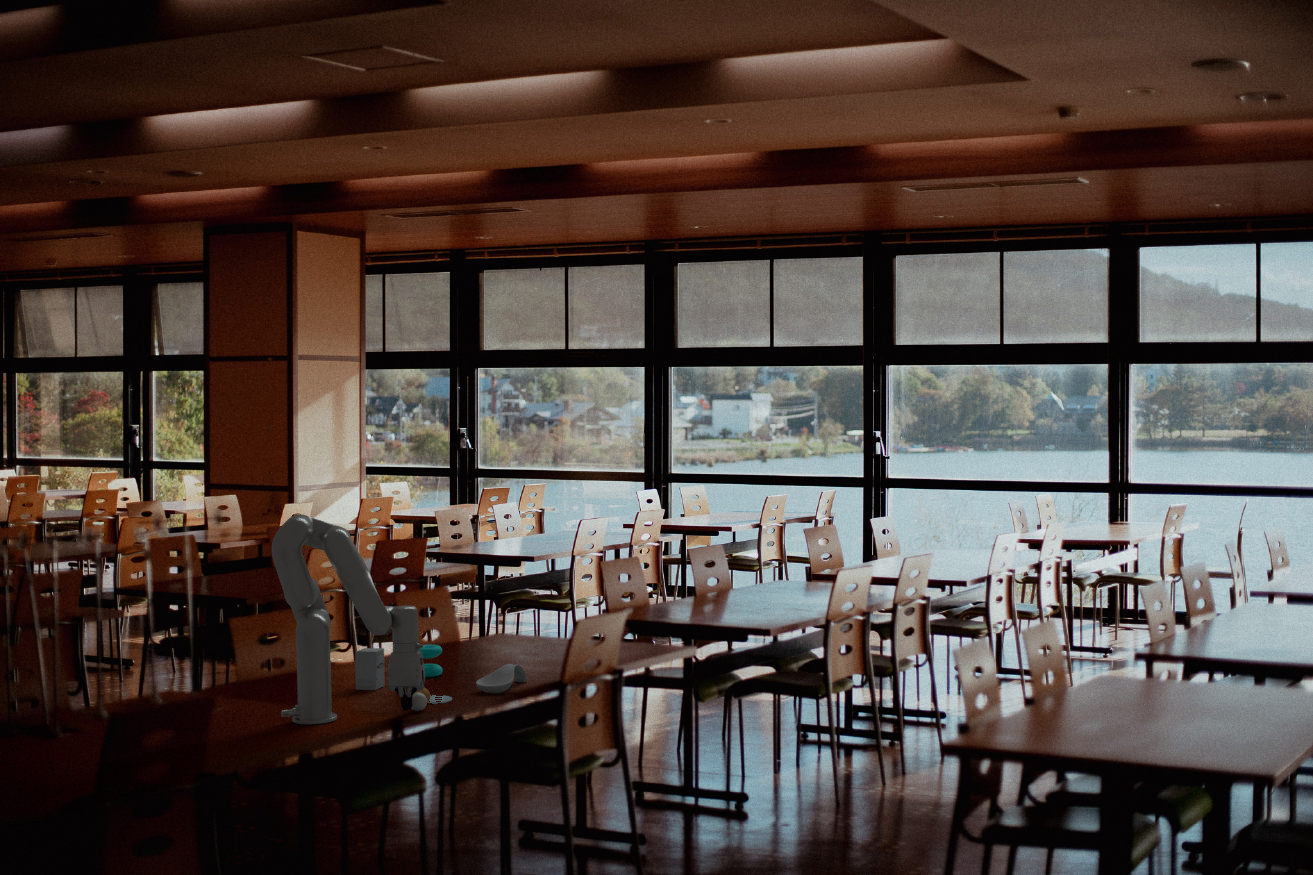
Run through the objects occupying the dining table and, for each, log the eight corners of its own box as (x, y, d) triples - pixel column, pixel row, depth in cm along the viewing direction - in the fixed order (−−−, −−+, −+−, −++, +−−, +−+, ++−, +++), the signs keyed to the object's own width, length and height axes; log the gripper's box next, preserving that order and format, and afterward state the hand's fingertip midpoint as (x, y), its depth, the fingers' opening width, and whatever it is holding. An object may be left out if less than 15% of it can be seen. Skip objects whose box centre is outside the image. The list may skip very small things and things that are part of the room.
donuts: (421, 643, 466) (447, 644, 463) (422, 672, 466) (447, 673, 463) (407, 648, 457) (433, 649, 453) (407, 677, 457) (434, 678, 453)
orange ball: (415, 697, 405) (418, 681, 408) (407, 704, 408) (411, 689, 412) (431, 703, 407) (434, 688, 410) (423, 711, 410) (427, 695, 414)
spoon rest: (502, 697, 421) (501, 674, 421) (469, 695, 426) (468, 672, 426) (536, 683, 443) (535, 661, 443) (504, 681, 448) (504, 660, 448)
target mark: (416, 706, 407) (416, 706, 407) (400, 699, 419) (400, 698, 419) (459, 701, 415) (459, 700, 415) (442, 693, 427) (442, 693, 427)
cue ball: (424, 688, 404) (422, 704, 406) (407, 689, 402) (405, 706, 403) (430, 697, 400) (428, 713, 401) (412, 698, 397) (410, 715, 399)
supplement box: (376, 690, 434) (375, 651, 434) (355, 690, 436) (354, 651, 436) (385, 686, 442) (384, 647, 442) (364, 685, 443) (363, 647, 443)
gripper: (433, 645, 399) (435, 707, 399) (385, 645, 401) (387, 706, 401) (425, 650, 391) (427, 712, 391) (376, 649, 394) (378, 712, 394)
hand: (406, 709), depth 396 cm, fingers closed
